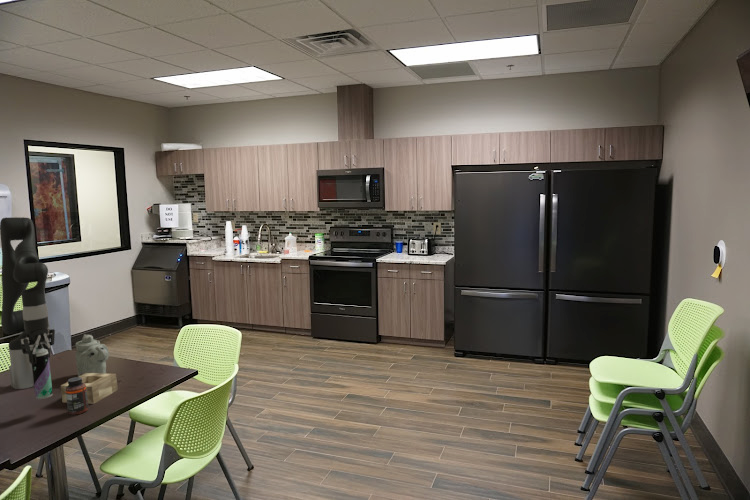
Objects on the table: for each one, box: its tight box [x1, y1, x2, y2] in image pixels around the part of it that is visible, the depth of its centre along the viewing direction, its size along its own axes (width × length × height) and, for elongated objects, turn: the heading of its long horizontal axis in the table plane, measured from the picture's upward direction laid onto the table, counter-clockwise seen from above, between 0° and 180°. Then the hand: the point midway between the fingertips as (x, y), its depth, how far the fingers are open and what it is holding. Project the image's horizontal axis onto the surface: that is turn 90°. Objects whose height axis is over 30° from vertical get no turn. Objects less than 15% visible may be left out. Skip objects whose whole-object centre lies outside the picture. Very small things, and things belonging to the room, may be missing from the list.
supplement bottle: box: [66, 376, 89, 416], centre depth 191 cm, size 7×7×13 cm
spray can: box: [32, 344, 53, 400], centre depth 190 cm, size 6×6×20 cm
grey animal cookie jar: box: [74, 334, 110, 377], centre depth 229 cm, size 16×15×19 cm
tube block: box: [60, 373, 118, 405], centre depth 207 cm, size 14×14×7 cm
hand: (40, 360), depth 190 cm, fingers closed on spray can, 5 cm apart
